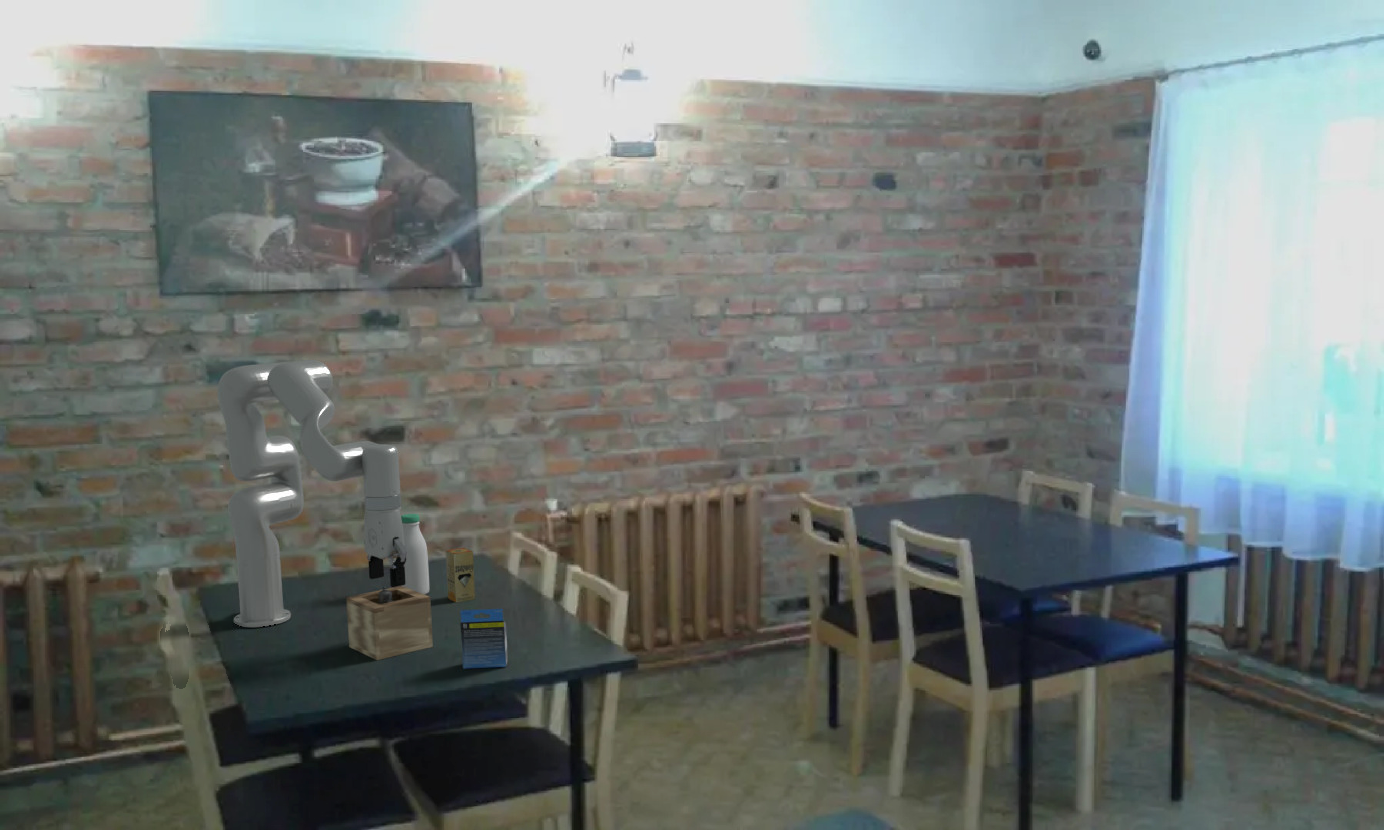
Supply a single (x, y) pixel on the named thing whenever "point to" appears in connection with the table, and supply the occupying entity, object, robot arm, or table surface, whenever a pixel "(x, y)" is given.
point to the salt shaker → (385, 596)
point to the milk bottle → (415, 555)
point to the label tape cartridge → (483, 638)
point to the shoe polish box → (460, 575)
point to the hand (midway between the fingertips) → (387, 581)
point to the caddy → (389, 623)
